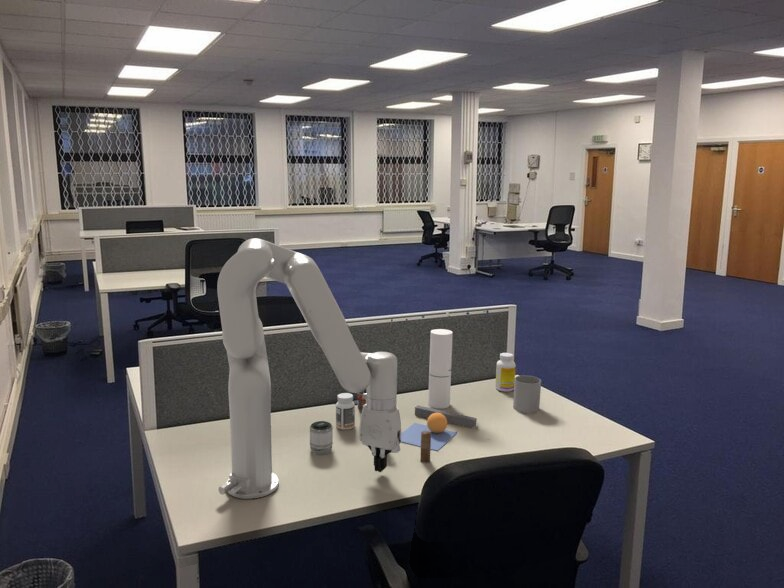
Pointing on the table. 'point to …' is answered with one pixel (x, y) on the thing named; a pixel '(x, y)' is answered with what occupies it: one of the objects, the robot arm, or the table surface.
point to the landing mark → (437, 439)
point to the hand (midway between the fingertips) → (380, 469)
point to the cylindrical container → (440, 368)
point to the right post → (425, 446)
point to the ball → (437, 422)
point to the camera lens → (321, 437)
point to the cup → (527, 394)
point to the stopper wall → (447, 416)
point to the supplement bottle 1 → (361, 399)
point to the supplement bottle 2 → (505, 373)
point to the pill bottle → (345, 411)
